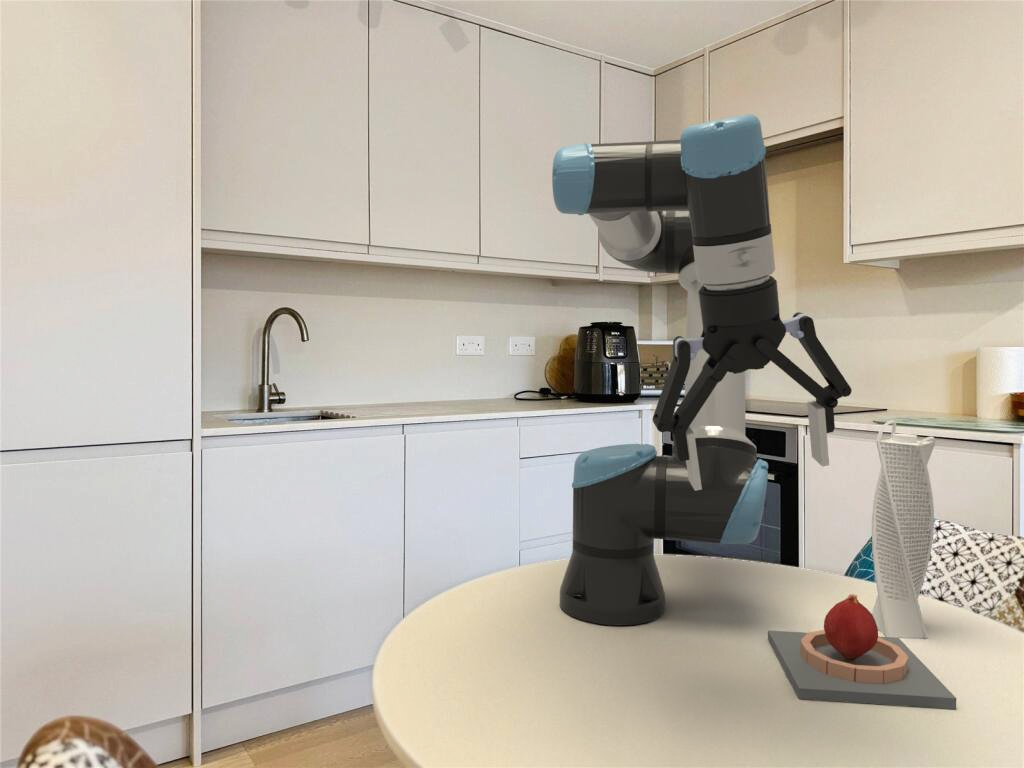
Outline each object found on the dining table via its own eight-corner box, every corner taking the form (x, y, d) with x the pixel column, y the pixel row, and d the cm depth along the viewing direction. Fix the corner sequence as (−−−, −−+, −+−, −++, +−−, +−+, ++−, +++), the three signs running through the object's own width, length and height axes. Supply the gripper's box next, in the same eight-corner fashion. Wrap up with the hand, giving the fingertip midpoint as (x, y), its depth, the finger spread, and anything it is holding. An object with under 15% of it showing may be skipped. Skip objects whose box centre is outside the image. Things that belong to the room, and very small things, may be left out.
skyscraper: (856, 617, 105) (863, 418, 103) (910, 618, 105) (919, 419, 103) (881, 640, 97) (890, 426, 95) (940, 642, 97) (950, 426, 95)
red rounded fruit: (814, 649, 91) (816, 585, 91) (859, 649, 92) (862, 585, 91) (837, 671, 85) (840, 602, 85) (886, 670, 86) (889, 602, 85)
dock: (798, 698, 81) (799, 674, 81) (767, 639, 97) (768, 619, 97) (955, 709, 79) (957, 684, 79) (898, 646, 95) (898, 626, 95)
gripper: (618, 312, 71) (650, 510, 78) (879, 260, 71) (890, 464, 77) (607, 298, 79) (637, 480, 85) (844, 250, 78) (856, 438, 84)
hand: (757, 473), depth 81 cm, fingers open, 13 cm apart
